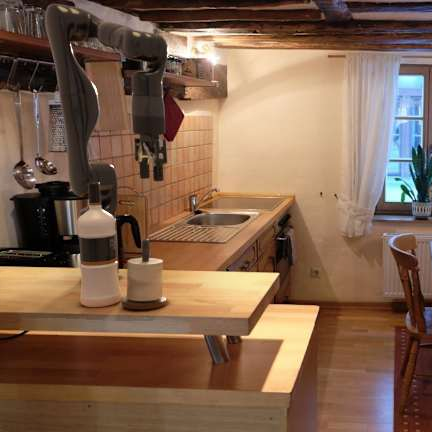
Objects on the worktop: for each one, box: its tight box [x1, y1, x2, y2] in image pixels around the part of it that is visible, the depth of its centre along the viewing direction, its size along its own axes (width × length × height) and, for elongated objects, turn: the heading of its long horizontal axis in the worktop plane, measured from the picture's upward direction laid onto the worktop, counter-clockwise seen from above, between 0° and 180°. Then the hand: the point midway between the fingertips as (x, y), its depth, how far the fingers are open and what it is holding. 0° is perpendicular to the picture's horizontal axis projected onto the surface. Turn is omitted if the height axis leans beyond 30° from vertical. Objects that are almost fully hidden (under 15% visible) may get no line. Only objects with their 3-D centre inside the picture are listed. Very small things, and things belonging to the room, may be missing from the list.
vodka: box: [76, 182, 123, 308], centre depth 137 cm, size 9×9×30 cm
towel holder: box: [121, 238, 167, 310], centre depth 137 cm, size 10×16×10 cm
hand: (151, 179), depth 142 cm, fingers open, 8 cm apart
